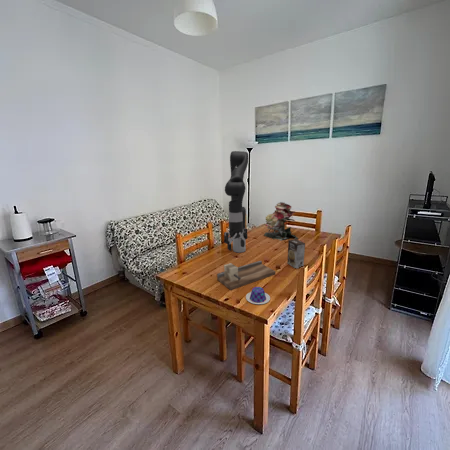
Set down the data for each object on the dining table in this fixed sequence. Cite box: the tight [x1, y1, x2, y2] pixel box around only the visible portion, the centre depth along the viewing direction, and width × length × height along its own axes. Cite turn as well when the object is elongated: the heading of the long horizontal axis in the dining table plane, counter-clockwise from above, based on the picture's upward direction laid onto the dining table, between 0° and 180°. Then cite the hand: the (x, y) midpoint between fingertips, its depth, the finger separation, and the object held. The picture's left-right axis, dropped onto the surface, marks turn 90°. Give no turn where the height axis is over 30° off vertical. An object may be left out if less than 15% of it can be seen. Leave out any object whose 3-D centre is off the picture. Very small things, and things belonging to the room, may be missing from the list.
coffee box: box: [286, 239, 306, 269], centre depth 157 cm, size 9×6×16 cm
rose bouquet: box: [263, 201, 299, 241], centre depth 213 cm, size 26×29×30 cm
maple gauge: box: [223, 262, 241, 281], centre depth 138 cm, size 12×5×7 cm, turn 32°
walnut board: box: [216, 260, 277, 291], centre depth 145 cm, size 14×32×4 cm, turn 122°
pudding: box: [245, 286, 271, 305], centre depth 123 cm, size 12×12×5 cm
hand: (236, 248), depth 136 cm, fingers open, 8 cm apart
